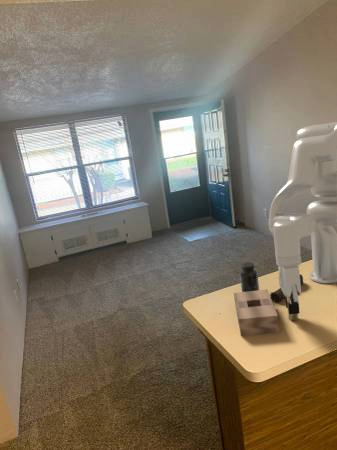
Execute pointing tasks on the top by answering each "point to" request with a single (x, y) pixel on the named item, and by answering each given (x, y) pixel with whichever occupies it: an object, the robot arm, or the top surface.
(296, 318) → the peg
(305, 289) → the top surface
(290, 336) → the top surface
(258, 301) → the hole block
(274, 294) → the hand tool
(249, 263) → the supplement bottle
